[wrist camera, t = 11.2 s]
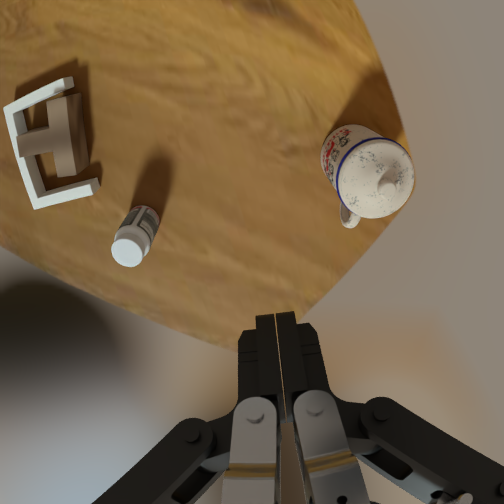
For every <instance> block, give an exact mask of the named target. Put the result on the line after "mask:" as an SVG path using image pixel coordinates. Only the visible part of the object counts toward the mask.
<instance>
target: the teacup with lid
mask: <svg viewBox="0 0 504 504" xmlns="http://www.w3.org/2000/svg"><path fill="white" fill-rule="evenodd" d="M321 165H322V169H323V171H324V173H325V175H326V176H327V178H328V179H329V180H330V182H331V183H332V185H333V186H334V188H335V189H336V190H337V193H338V196H339V198H340V200H341V203H340V218H341V222H342V224H343V225H344V226H345V227H347V228H353V227H355V226H356V225H357V224H358V222H359V220H360V218H361V217H365V218H380V217H384V216H387V215H390V214H391V213H393V212H395V211H396V210H398V209H399V208H400V207H401V206H402V205H403V204H404V203H405V201H406V200H407V199H408V197H409V195H410V193H411V191H412V188H413V184H414V167H413V164H412V161H411V158H410V156H409V154H408V153H407V151H406V150H405V149H404V148H403V147H402V146H401V145H400V144H398V143H397V142H395V141H393V140H391V139H388V138H384V137H383V136H381V135H379V134H377V133H376V132H374V131H372V130H370V129H369V128H367V127H364V126H361V125H355V124H352V125H345V126H342V127H340V128H338V129H336V130H335V131H333V132H332V133H331V134H330V135H329V136H328V137H327V139H326V140H325V142H324V144H323V147H322V150H321ZM349 210H350V211H351V212H352V213H351V216H349Z"/></svg>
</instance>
